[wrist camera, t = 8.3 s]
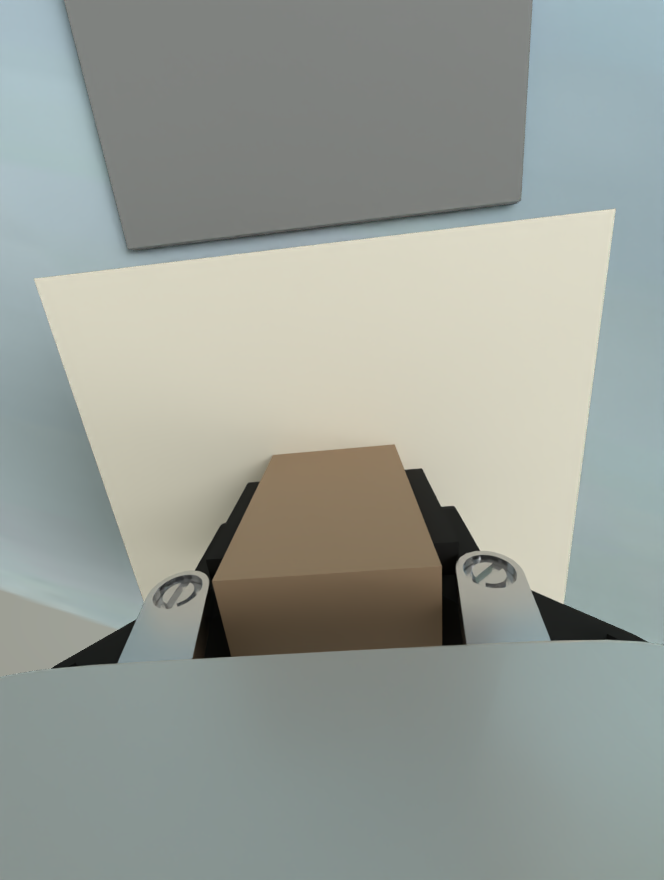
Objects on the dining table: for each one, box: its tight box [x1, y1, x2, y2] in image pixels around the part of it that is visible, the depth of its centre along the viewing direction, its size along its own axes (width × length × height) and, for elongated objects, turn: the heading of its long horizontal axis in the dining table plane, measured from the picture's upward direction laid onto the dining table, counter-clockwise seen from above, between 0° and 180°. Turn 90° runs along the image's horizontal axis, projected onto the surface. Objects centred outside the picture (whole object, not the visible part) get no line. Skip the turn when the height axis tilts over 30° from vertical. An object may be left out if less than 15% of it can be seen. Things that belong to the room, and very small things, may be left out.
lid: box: [34, 209, 616, 657], centre depth 10 cm, size 16×16×7 cm
